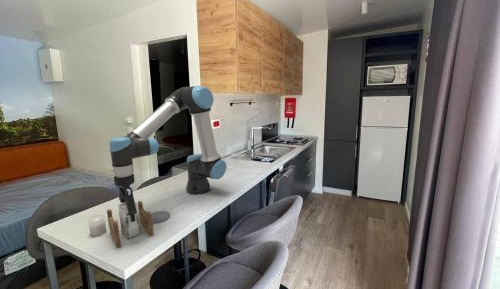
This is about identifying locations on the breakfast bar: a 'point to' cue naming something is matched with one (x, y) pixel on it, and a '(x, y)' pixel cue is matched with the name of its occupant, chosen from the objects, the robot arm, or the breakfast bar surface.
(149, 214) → the oak stand
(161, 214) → the slate coaster
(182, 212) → the breakfast bar surface
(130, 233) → the syrup box
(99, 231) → the off-white capsule
